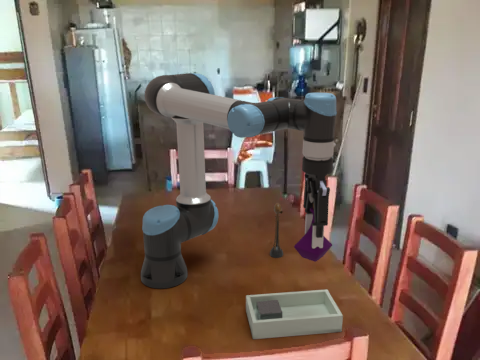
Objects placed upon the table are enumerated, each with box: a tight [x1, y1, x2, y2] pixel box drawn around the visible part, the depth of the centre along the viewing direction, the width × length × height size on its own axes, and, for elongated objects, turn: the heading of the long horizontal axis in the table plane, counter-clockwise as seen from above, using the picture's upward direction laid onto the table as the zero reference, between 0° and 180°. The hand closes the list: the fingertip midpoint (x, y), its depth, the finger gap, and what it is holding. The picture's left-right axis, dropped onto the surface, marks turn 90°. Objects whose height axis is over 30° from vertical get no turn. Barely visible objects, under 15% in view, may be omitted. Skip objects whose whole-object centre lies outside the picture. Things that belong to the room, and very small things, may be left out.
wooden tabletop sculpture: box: [269, 202, 284, 259], centre depth 156 cm, size 6×5×20 cm
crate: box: [245, 288, 344, 340], centre depth 121 cm, size 24×13×5 cm, turn 97°
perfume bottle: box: [293, 193, 333, 263], centre depth 114 cm, size 8×8×18 cm
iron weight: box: [256, 300, 282, 320], centre depth 120 cm, size 6×6×4 cm
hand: (313, 241), depth 115 cm, fingers closed on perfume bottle, 6 cm apart
